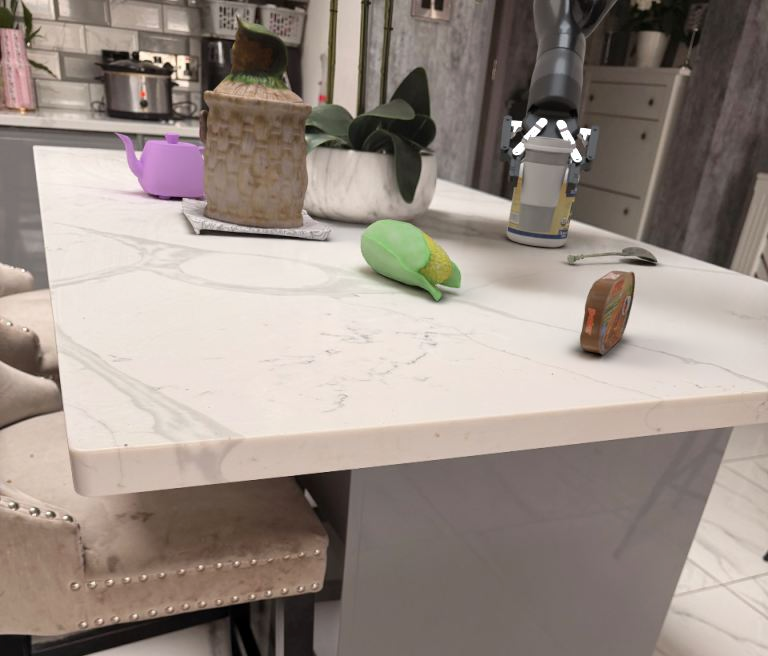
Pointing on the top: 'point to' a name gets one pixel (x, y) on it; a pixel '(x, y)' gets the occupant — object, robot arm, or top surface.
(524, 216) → the cup
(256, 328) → the top surface
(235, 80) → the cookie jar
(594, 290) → the tin
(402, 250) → the corn
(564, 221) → the supplement tub
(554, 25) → the robot arm
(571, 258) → the soupspoon
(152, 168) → the teapot
